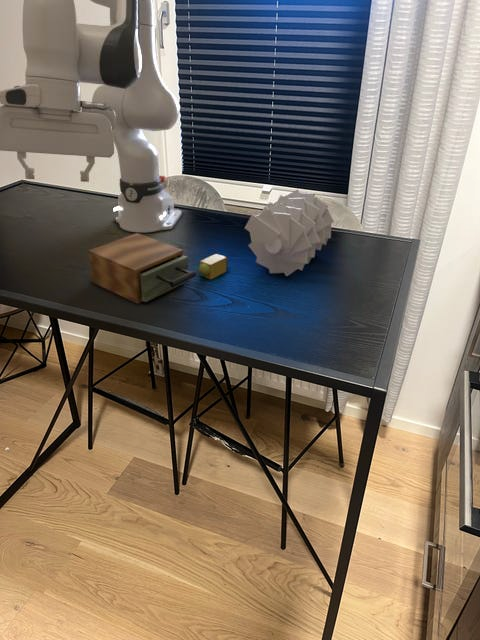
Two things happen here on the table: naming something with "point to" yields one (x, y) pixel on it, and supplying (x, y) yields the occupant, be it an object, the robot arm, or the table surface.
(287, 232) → the spiral staircase
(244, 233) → the table surface
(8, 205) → the table surface
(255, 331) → the table surface
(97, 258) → the cabinet
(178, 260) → the drawer
